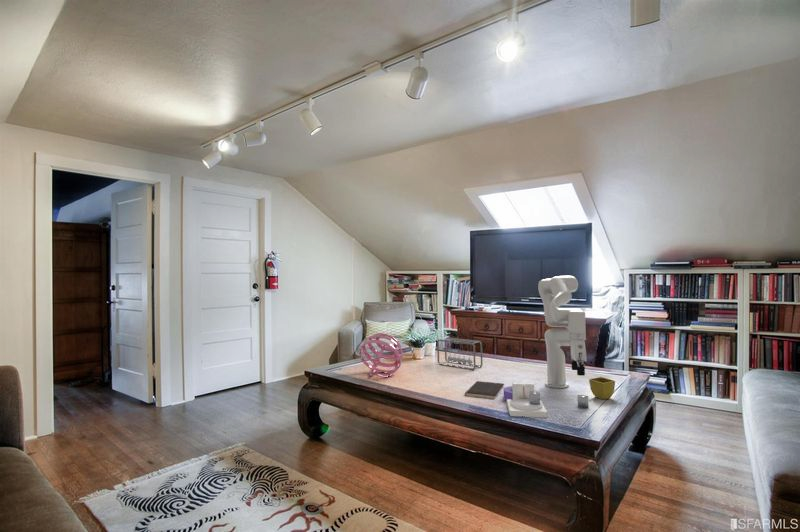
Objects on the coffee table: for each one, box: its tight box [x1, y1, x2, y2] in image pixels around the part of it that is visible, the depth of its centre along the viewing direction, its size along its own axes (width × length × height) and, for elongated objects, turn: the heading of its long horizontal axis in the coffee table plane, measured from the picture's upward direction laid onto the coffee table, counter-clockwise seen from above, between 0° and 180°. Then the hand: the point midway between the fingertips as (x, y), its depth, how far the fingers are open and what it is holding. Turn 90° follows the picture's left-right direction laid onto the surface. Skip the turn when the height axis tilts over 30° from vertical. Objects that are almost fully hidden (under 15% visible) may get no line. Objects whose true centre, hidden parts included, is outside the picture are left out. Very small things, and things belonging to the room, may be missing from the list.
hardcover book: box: [464, 380, 505, 400], centre depth 220 cm, size 16×23×2 cm
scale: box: [506, 382, 548, 418], centre depth 190 cm, size 18×16×10 cm
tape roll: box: [502, 385, 513, 401], centre depth 206 cm, size 12×12×5 cm
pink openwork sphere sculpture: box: [358, 332, 404, 378], centre depth 258 cm, size 28×28×27 cm
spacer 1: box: [530, 390, 541, 405], centre depth 188 cm, size 5×5×5 cm
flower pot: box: [588, 376, 616, 400], centre depth 204 cm, size 9×9×9 cm
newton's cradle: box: [436, 337, 483, 370], centre depth 278 cm, size 30×10×18 cm, turn 50°
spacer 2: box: [577, 394, 590, 409], centre depth 192 cm, size 5×5×5 cm
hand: (578, 372), depth 191 cm, fingers open, 9 cm apart
